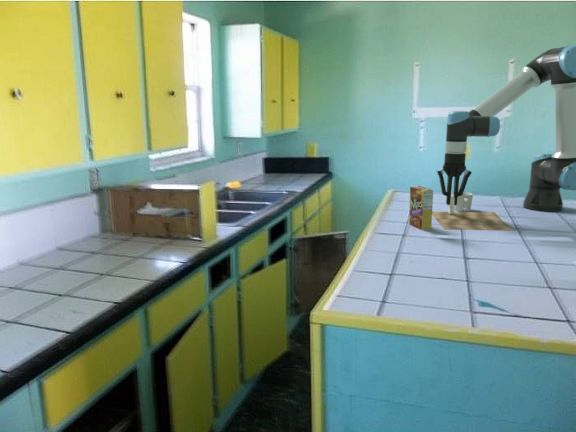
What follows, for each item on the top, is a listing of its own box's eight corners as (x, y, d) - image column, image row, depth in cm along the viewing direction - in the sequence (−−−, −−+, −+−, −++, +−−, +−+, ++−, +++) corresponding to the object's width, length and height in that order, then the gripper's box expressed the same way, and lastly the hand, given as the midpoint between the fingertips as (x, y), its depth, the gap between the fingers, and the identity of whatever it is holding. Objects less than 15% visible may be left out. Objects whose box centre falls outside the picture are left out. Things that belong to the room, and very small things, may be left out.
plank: (494, 215, 197) (494, 212, 196) (500, 222, 189) (500, 219, 189) (431, 214, 199) (432, 211, 198) (435, 221, 191) (435, 218, 191)
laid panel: (500, 222, 189) (501, 219, 188) (515, 233, 173) (515, 230, 173) (435, 222, 191) (435, 218, 191) (444, 232, 175) (444, 229, 175)
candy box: (407, 227, 183) (409, 186, 180) (418, 226, 184) (420, 185, 181) (420, 233, 175) (423, 190, 171) (431, 232, 176) (434, 189, 173)
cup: (476, 216, 200) (478, 196, 198) (456, 216, 200) (458, 196, 198) (467, 210, 210) (469, 191, 208) (448, 210, 210) (450, 192, 208)
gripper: (470, 151, 193) (465, 211, 199) (435, 151, 195) (431, 210, 200) (475, 153, 186) (470, 215, 192) (439, 153, 187) (435, 214, 193)
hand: (450, 213), depth 196 cm, fingers closed
